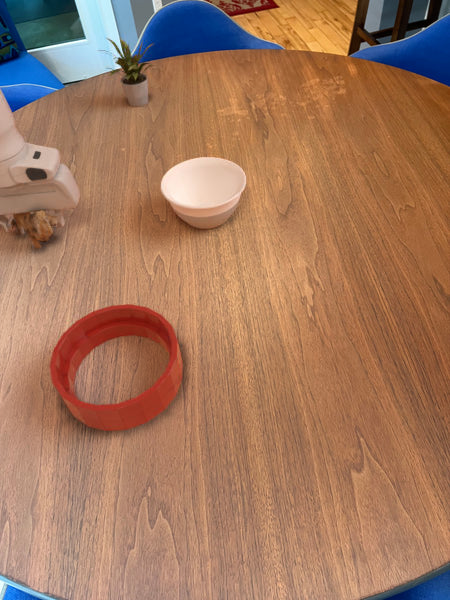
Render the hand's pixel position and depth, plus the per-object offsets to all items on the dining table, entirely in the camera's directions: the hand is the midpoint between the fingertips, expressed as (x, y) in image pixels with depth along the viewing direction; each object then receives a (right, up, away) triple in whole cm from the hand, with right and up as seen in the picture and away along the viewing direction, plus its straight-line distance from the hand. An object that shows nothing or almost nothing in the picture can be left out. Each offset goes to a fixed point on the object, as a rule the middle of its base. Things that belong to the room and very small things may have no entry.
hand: (36, 227), depth 91 cm
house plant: (+12, +39, +38) cm, 55 cm away
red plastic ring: (+21, -26, -20) cm, 39 cm away
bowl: (+33, +2, +4) cm, 33 cm away
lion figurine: (0, -2, +2) cm, 3 cm away
